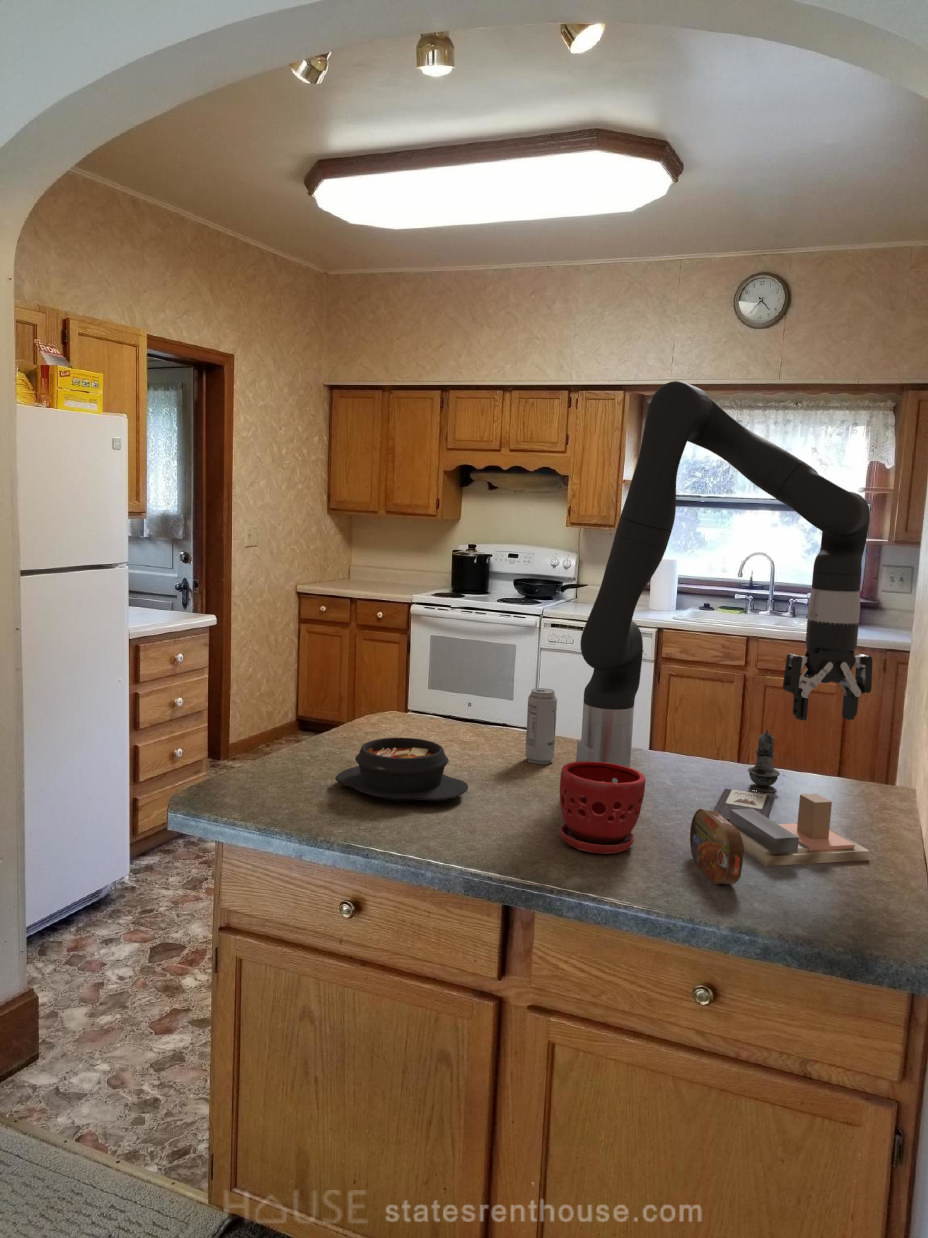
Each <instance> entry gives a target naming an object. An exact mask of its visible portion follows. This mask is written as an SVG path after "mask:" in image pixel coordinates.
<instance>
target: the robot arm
mask: <svg viewBox="0 0 928 1238" xmlns="http://www.w3.org/2000/svg"><path fill="white" fill-rule="evenodd" d="M687 443H692V444H693V445H696V446H698V447H700V448H702V449H705V450H708V451H709V452H712V454H715V455H716V456H718V457H720V458H721V459H723V460H724V461H725V462H727V464H729V465H730V466H732V467H733V468H734V469H736V470H737V472H739V473H740V475H742V476H744V477H745V478H746V479H747V480H748V481H750V482H751V483H752V484H754V485H755V486H756V487H757V488H759V489H760V490H762V491H763V492H766V493H767V494H768V495H770V496H771V497H773V498H774V499H776V500H777V501H778V502H780V503H782V504H784V505H786V506H788V507H789V508H791V509H792V510H793V511H795V512H796V513H797V514H799V515H800V516H801V517H802V518H803V519H804V520H806V521H807V522H808V523H810V524H811V525H812V526H813V527H815V528H816V529H818V530H820V531H821V540H820V541H821V542H820V549H819V552H818V554H817V555H816V556H815V559H814V563H813V569H812V580H811V591H810V596H809V601H808V608H807V619H806V620H807V621H806V631H805V632H806V633H805V634H806V635H805V646H806V652H805V654H804V655H797V654H795V653H788V654H787V655H786V661H785V668H784V675H783V676H784V677H783V683H782V690H784V691H786V692H789V693H790V694H792V695H793V703H792V705H793V707H792V714H793V716H794V718H795V719H797V720H799V721H806V720H807V718H808V709H809V697H808V696H809V694H810V693H811V692H812V691H813V689H814V688H817V687H818V686H819V685H820V683H822V684H825V683H826V684H829V683H832V682H833V683H835V684H839V685H840V686H841V688H842V690H843V691H844V693H845V694H843V699H842V700H843V702H842V709H841V710H842V712H841V716H842V718H843V719H846V720H848V721H852V720H855V717H856V716H857V714H858V707H859V705H858V704H859V697H860V696H861V695H863V694H866V693H867V694H869V693H871V692H872V679H873V657H872V656H870V655H867V654H863V653H858V654H856V655H855V650H856V649H857V646H858V645H857V644H858V637H859V624H860V613H861V600H860V599H861V595H860V594H861V584H862V583H861V581H862V565H863V564H862V562H863V556H864V552H865V547H866V543H867V538H868V533H869V528H870V519H871V518H870V517H871V516H870V515H871V514H870V513H871V512H870V505H869V504H868V502H867V501H866V499H865V498H864V497H863V496H862V495H861V494H858V493H857V492H853V491H848V490H846V489H845V488H842V487H841V486H839V485H837V484H836V483H834V482H832V481H831V480H829V479H827V478H825V477H824V476H822V475H820V474H819V473H818V472H817V470H816V469H815V468H814V467H812V466H811V465H809V464H808V463H807V462H804V461H803V460H802V459H800V458H798V457H797V456H795V454H792V453H790V452H788V451H787V450H785V449H784V448H783V447H780V446H778V444H776V443H772V442H771V441H769V440H768V439H765V438H764V437H762V436H760V435H759V434H757V433H755V432H753V431H752V430H750V429H749V428H747V427H746V426H744V425H743V424H742V423H740V422H739V421H738V420H736V419H734V418H733V417H732V416H731V415H730V414H728V413H727V412H726V411H725V410H724V409H723V408H721V407H720V405H719V404H718V403H717V402H715V401H714V400H713V398H711V397H710V396H709V395H708V394H707V393H706V391H705V390H703V389H701V388H699V387H697V386H695V385H692V384H690V383H687V382H684V381H679V380H678V381H677V380H674V381H669V382H667V383H665V384H662V386H660V387H659V388H658V389H657V390H656V391H655V393H654V394H653V396H652V397H651V400H650V401H649V405H648V408H647V412H646V417H645V423H644V428H643V433H642V438H641V444H640V449H639V453H638V459H637V462H636V465H635V468H634V472H633V475H632V478H631V481H630V485H629V488H628V490H627V494H626V497H625V501H624V505H623V507H622V510H621V512H620V516H619V520H618V523H617V526H616V530H615V533H614V537H613V541H612V545H611V548H610V551H609V556H608V558H607V562H606V566H605V569H604V573H603V577H602V581H601V584H600V588H599V590H598V593H597V596H596V599H595V600H594V603H593V606H592V608H591V611H590V614H589V615H588V618H587V620H586V623H585V626H584V628H583V630H582V632H581V635H580V643H579V644H580V652H581V655H582V658H583V660H584V661H585V662H586V664H587V665H588V666H590V667H591V668H593V671H592V675H591V678H590V680H589V682H588V683H587V684H586V686H585V688H584V691H583V703H582V704H583V705H582V708H583V709H582V718H581V719H582V723H581V738H580V740H578V741H577V742H576V754H575V755H576V760H575V762H580V761H594V762H606V763H612V764H618V765H622V766H626V767H629V768H631V762H632V761H631V759H632V746H633V745H632V743H633V726H634V714H635V713H634V711H635V702H636V701H635V699H636V696H637V693H638V692H639V688H640V682H641V681H640V680H641V672H642V663H643V650H644V642H643V635H642V632H641V629H640V627H639V626H638V625H637V623H635V621H633V617H634V613H635V610H636V606H637V604H638V601H639V600H640V598H641V595H642V593H643V592H644V590H645V589H646V586H647V585H648V583H649V582H650V580H651V579H652V577H653V576H654V574H655V572H656V571H657V569H658V568H659V566H660V563H661V562H662V560H663V557H664V555H665V553H666V551H667V546H668V544H669V541H670V538H671V535H672V530H673V527H674V525H675V524H674V523H675V519H676V512H677V511H676V510H677V509H676V508H677V477H678V476H677V475H678V470H679V467H680V463H681V459H682V456H683V454H684V451H685V449H686V445H687ZM804 667H806V668H805V669H804V671H803V673H801V672H802V669H803V668H804ZM853 667H855V676H854V674H853V673H852V671H851V670H852V669H853ZM601 782H604V781H601ZM612 782H613V783H617V782H618V780H617V779H616V778H613V779H612ZM581 797H583V796H581Z"/></svg>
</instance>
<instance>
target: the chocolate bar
mask: <svg viewBox="0 0 928 1238" xmlns="http://www.w3.org/2000/svg"><path fill="white" fill-rule="evenodd" d="M773 800H775V796H774V795H770V794H764V793H758V792H750V791H743V790H737V789H733V788H732V789H731V788H724V790H723V791H722V793H721V795H720V796H719V799H718V801H717V803H716V804H715V806H714V808H713V810H712V811H717V812H718V813H720V814H721V815H722V816H723V817H724V818H725V819H726V820H728V821H729V822H730V811H731V809H754V810H756V811H757V812H759V813H760V814H762V815H764V816H765V817H767V818H769V815H770V812H771V809H772V807H773V804H774V801H773ZM772 803H773V804H772ZM771 806H772V807H771Z"/></svg>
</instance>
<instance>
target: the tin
mask: <svg viewBox="0 0 928 1238" xmlns="http://www.w3.org/2000/svg"><path fill="white" fill-rule="evenodd" d="M689 833H690V834H689V844H690V852H691V855H692V859H693V861H694V863H695V864H696V866H698V867H699V869H701V870H702V871H703V873H704V874H705V875H706V876H707V877H708V879H710V881H711V882H712V883H714V885H733V884H736V883H737V882H739V880H740V879H741V876H742V870H743V863H744V855H745V852H744V844H743V840H742V837H741V834H740V832H739V831H738V829H737V828H736V827H734V826H733V825H732V824H731V823H730V822H729V821H728V820H726V819H725V818H724V817H723V816H722V815H721V814H720V813H718V812H717V811H713V810H708V809H703V808H699V809H697V810H696V811H695V813H694V815H693V817H692V819H691V823H690V832H689Z"/></svg>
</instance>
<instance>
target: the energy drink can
mask: <svg viewBox="0 0 928 1238" xmlns="http://www.w3.org/2000/svg"><path fill="white" fill-rule="evenodd" d="M555 693H556V692H555V690H553V689H550V688H543V687H542V688H541V687H540V688H538V687H537V688H532V689H531V693H530V694H529V695H528V697H527V712H526V714H527V715H526V718H527V719H526V732H525V734H526V736H525V737H526V738H525V754H524V755H525V757H526V758H527V762H529V761H530V762H529V763H531V762H532V763H531V764H534V763H536V764H535V765H547V764H551V763H552V760H553V759H554V758H555V746H556V745H555V744H556V730H557V729H556V726H557V711H558V710H557V708H558V698H557V696H556V694H555Z"/></svg>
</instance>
